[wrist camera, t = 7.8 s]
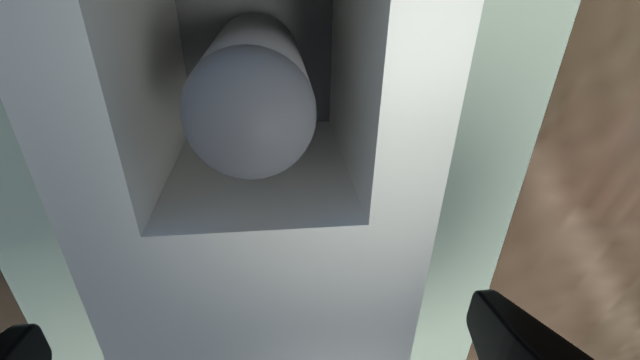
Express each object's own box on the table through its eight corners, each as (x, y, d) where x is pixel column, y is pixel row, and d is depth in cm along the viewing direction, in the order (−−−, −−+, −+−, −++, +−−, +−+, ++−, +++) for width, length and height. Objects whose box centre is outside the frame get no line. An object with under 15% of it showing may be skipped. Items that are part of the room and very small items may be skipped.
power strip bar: (394, -127, 7) (530, -225, 3) (346, 409, 14) (370, 549, 11) (88, -141, 6) (-150, -279, 3) (210, 423, 14) (191, 576, 10)
